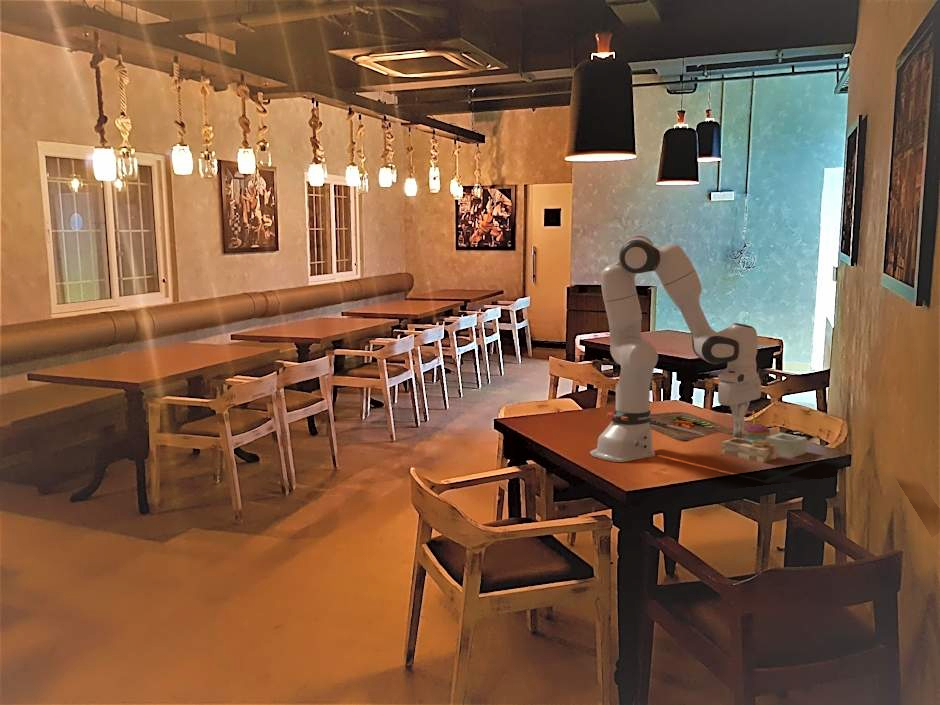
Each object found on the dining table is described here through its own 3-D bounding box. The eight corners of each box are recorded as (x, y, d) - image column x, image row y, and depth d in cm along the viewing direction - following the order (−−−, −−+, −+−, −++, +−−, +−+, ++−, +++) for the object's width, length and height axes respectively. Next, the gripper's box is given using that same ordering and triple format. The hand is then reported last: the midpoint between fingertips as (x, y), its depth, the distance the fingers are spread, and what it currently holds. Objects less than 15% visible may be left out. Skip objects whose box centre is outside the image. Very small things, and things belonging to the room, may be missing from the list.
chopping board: (751, 438, 267) (751, 430, 267) (687, 445, 259) (687, 437, 259) (680, 413, 310) (680, 406, 309) (622, 418, 302) (623, 411, 301)
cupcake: (737, 442, 260) (738, 408, 259) (757, 440, 263) (758, 406, 262) (754, 448, 252) (755, 413, 251) (774, 445, 255) (776, 411, 253)
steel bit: (739, 438, 240) (741, 405, 239) (731, 436, 243) (732, 403, 241) (745, 437, 242) (747, 404, 241) (736, 435, 245) (738, 402, 243)
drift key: (762, 461, 235) (762, 443, 234) (751, 459, 237) (752, 441, 237) (768, 459, 237) (769, 441, 236) (758, 456, 240) (759, 439, 239)
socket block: (762, 465, 232) (763, 450, 231) (721, 456, 243) (722, 441, 242) (777, 460, 238) (778, 445, 237) (736, 451, 249) (737, 436, 248)
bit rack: (792, 460, 237) (793, 442, 236) (765, 455, 244) (766, 437, 243) (806, 455, 243) (807, 437, 242) (779, 450, 249) (780, 432, 249)
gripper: (749, 369, 249) (747, 409, 250) (715, 375, 236) (713, 418, 238) (767, 371, 244) (764, 412, 246) (733, 378, 231) (730, 421, 233)
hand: (739, 415), depth 241 cm, fingers closed on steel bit, 3 cm apart
